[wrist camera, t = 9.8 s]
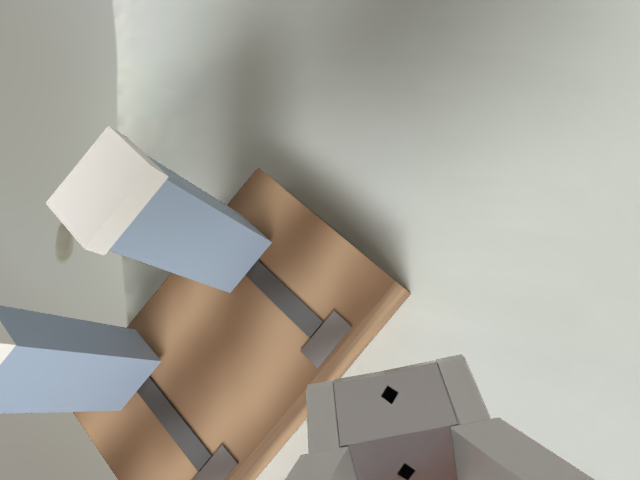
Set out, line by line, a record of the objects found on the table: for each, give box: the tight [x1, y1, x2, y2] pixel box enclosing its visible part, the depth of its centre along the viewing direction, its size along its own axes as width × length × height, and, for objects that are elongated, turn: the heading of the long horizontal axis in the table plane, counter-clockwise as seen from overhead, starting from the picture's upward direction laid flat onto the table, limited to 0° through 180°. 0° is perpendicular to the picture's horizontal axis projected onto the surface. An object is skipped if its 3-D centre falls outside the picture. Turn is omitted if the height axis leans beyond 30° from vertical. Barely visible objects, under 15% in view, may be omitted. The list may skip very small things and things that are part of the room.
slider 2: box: [0, 306, 161, 413], centre depth 29 cm, size 3×4×12 cm
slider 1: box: [46, 126, 272, 293], centre depth 29 cm, size 3×4×12 cm
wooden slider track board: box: [73, 168, 410, 480], centre depth 35 cm, size 12×20×4 cm, turn 137°
